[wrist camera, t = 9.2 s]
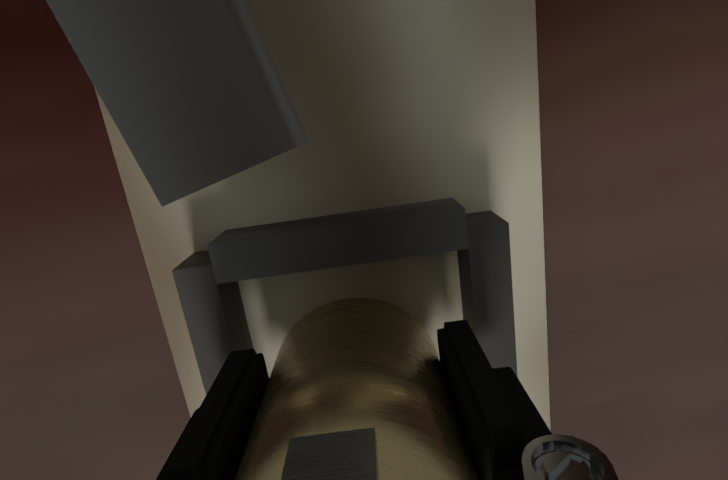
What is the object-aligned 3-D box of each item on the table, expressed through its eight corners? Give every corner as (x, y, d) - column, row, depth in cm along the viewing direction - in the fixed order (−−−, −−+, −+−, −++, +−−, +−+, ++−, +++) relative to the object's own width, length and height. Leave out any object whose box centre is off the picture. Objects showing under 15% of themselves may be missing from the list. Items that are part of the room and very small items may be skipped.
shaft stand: (284, 649, 19) (251, 881, 13) (57, -192, 11) (-274, -533, 5) (538, 620, 19) (619, 845, 13) (493, -267, 11) (650, -719, 5)
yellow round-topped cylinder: (259, 303, 11) (107, 582, 4) (430, 279, 11) (541, 529, 4) (293, 457, 12) (217, 855, 6) (447, 437, 12) (553, 820, 6)
